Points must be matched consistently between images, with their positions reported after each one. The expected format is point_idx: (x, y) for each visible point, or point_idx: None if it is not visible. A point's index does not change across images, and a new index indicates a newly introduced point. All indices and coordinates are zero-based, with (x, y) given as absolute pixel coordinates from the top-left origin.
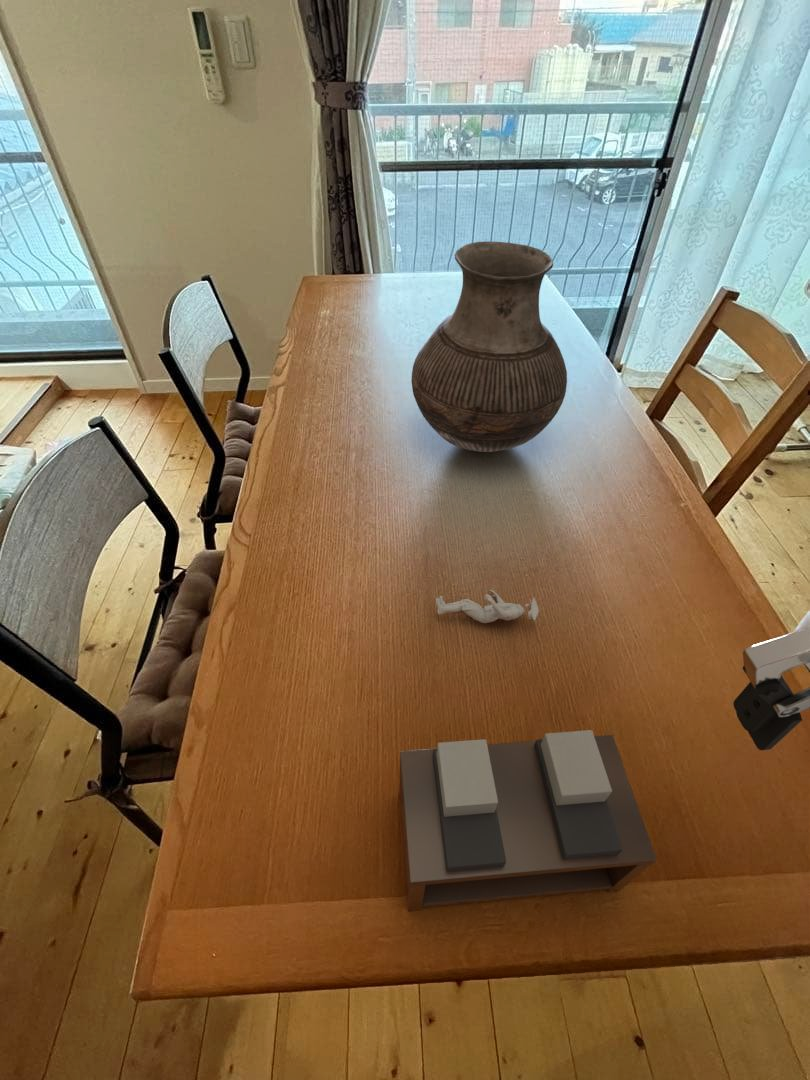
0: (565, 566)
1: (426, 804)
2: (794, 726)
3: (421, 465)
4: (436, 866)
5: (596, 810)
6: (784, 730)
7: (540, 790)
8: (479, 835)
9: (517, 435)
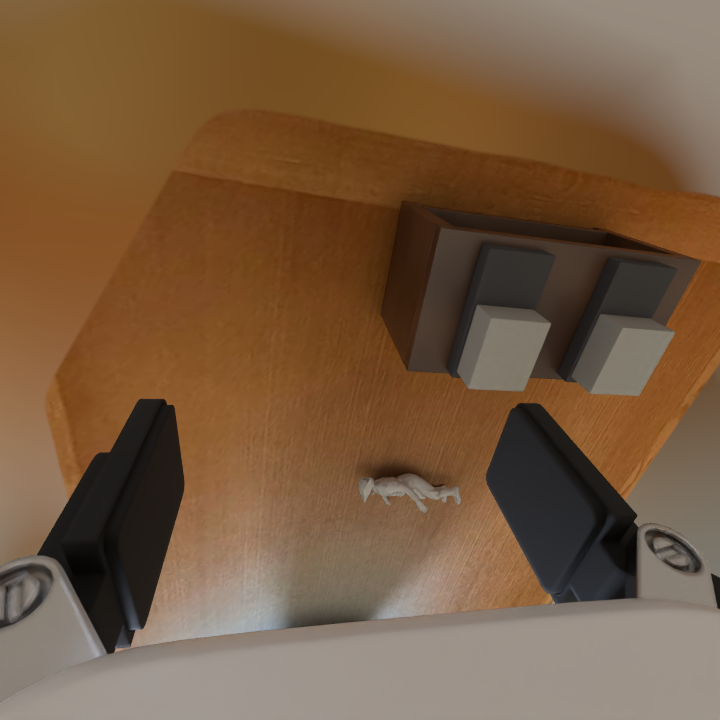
0: (292, 523)
1: None
2: (592, 486)
3: None
4: None
5: (492, 296)
6: (599, 473)
7: None
8: (628, 294)
9: None
